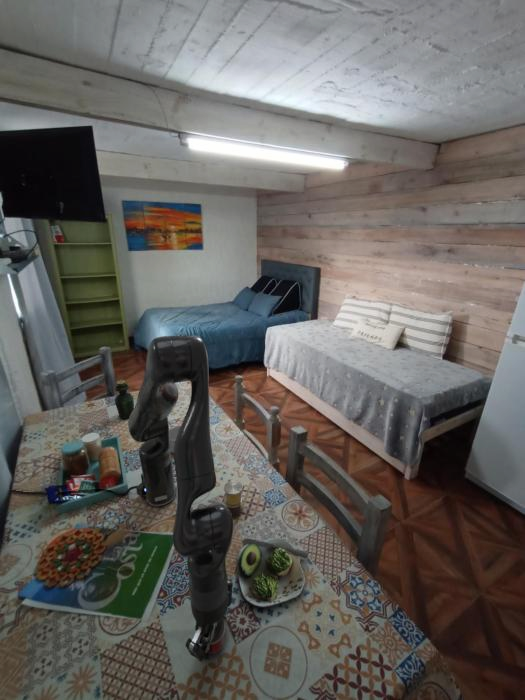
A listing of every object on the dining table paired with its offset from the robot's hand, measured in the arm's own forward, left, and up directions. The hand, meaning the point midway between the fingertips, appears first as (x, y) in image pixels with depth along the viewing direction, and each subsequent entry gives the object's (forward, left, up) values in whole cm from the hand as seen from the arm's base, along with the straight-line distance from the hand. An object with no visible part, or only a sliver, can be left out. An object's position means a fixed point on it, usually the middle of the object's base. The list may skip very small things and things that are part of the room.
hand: (213, 639), depth 68 cm
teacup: (-46, +48, -1) cm, 66 cm away
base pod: (-13, +31, 0) cm, 34 cm away
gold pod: (-13, +31, +5) cm, 34 cm away
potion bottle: (-86, +56, -1) cm, 103 cm away
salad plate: (+4, +18, -1) cm, 19 cm away
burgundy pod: (0, 0, 0) cm, 0 cm away
